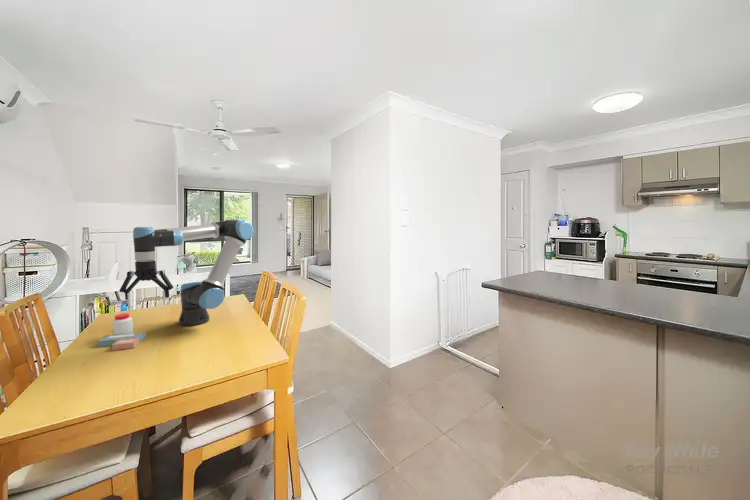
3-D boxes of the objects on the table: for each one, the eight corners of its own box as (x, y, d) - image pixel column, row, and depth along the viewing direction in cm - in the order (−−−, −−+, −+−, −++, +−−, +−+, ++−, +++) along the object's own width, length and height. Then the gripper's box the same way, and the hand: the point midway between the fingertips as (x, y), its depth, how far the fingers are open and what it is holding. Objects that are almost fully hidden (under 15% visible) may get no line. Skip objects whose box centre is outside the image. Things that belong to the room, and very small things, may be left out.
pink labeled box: (139, 342, 140) (139, 337, 139) (133, 348, 134) (133, 342, 134) (119, 344, 137) (118, 339, 137) (112, 350, 131) (111, 344, 131)
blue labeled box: (146, 337, 146) (145, 332, 146) (139, 342, 140) (139, 337, 140) (106, 340, 141) (106, 335, 141) (98, 346, 135) (97, 341, 134)
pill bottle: (137, 334, 150) (135, 313, 148) (119, 340, 142) (118, 318, 141) (127, 332, 152) (125, 311, 151) (109, 337, 145) (107, 316, 144)
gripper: (179, 258, 142) (181, 301, 144) (116, 260, 134) (119, 305, 136) (174, 260, 135) (176, 305, 137) (107, 262, 127) (111, 309, 129)
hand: (148, 305), depth 137 cm, fingers open, 13 cm apart
